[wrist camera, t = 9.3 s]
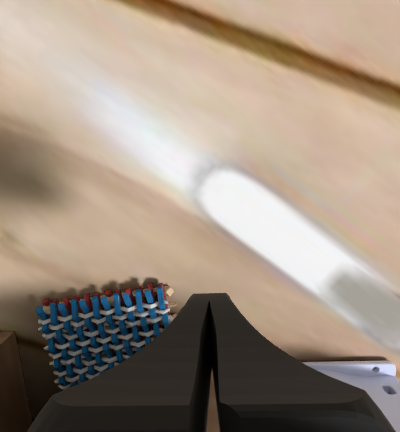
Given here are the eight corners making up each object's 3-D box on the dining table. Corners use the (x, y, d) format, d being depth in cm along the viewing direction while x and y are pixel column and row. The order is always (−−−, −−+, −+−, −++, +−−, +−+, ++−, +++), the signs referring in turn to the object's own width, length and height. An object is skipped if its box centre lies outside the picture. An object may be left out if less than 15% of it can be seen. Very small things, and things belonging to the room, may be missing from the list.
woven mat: (76, 409, 25) (65, 431, 23) (41, 295, 23) (25, 309, 21) (197, 393, 25) (196, 415, 23) (172, 274, 23) (169, 286, 21)
